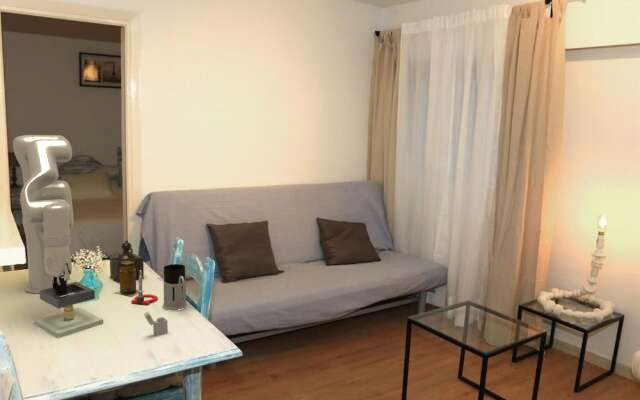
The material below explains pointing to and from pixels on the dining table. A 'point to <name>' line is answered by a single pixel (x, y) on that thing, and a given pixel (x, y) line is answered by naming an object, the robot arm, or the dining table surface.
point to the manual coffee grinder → (125, 256)
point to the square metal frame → (78, 296)
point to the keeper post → (68, 313)
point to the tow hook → (140, 297)
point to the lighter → (157, 324)
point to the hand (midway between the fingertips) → (60, 293)
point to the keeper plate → (68, 322)
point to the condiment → (127, 279)
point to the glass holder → (174, 287)
